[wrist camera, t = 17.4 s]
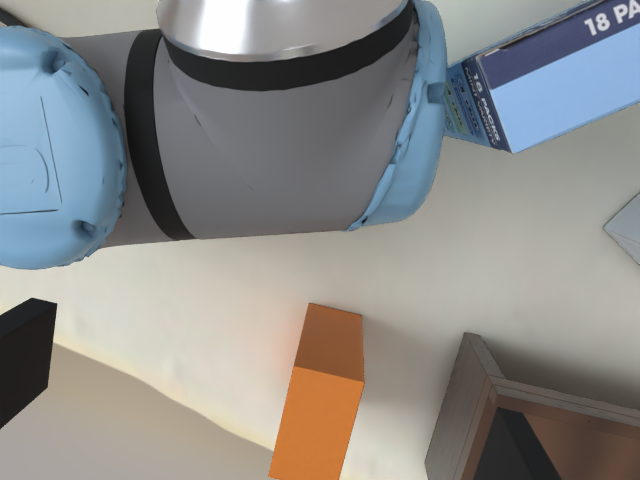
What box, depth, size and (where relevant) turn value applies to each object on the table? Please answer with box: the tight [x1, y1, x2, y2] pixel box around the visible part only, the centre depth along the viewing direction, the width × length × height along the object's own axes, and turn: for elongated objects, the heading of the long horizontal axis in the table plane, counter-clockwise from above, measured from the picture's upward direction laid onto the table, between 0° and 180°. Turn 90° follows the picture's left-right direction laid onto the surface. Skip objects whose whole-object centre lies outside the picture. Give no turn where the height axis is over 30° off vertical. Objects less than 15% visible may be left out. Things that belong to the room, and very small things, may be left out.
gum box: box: [443, 0, 640, 155], centre depth 33 cm, size 19×5×23 cm, turn 114°
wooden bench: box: [425, 332, 640, 480], centre depth 45 cm, size 26×14×12 cm, turn 77°
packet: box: [268, 303, 365, 480], centre depth 44 cm, size 5×9×13 cm, turn 168°
